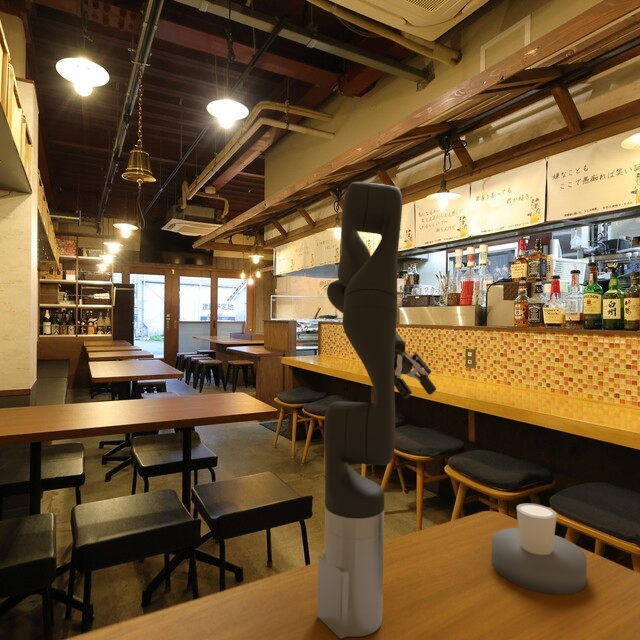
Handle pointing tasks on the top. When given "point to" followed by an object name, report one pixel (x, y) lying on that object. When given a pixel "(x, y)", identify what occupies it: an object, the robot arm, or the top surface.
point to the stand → (540, 564)
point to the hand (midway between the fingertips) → (421, 394)
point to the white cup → (536, 528)
